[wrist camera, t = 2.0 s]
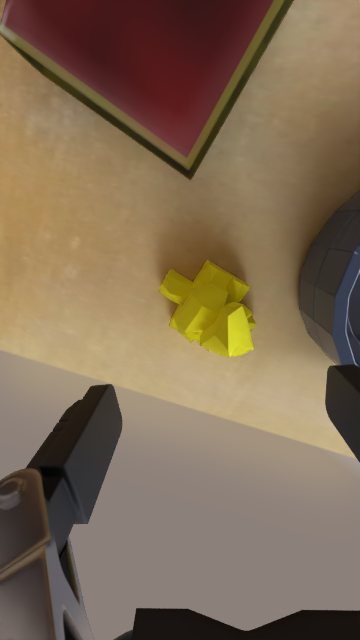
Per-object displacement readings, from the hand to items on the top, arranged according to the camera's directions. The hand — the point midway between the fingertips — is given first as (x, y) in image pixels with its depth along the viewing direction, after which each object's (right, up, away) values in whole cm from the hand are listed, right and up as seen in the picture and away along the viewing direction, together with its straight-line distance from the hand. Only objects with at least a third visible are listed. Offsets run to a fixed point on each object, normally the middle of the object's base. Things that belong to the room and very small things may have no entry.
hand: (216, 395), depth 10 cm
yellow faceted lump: (+1, +4, +12) cm, 13 cm away
